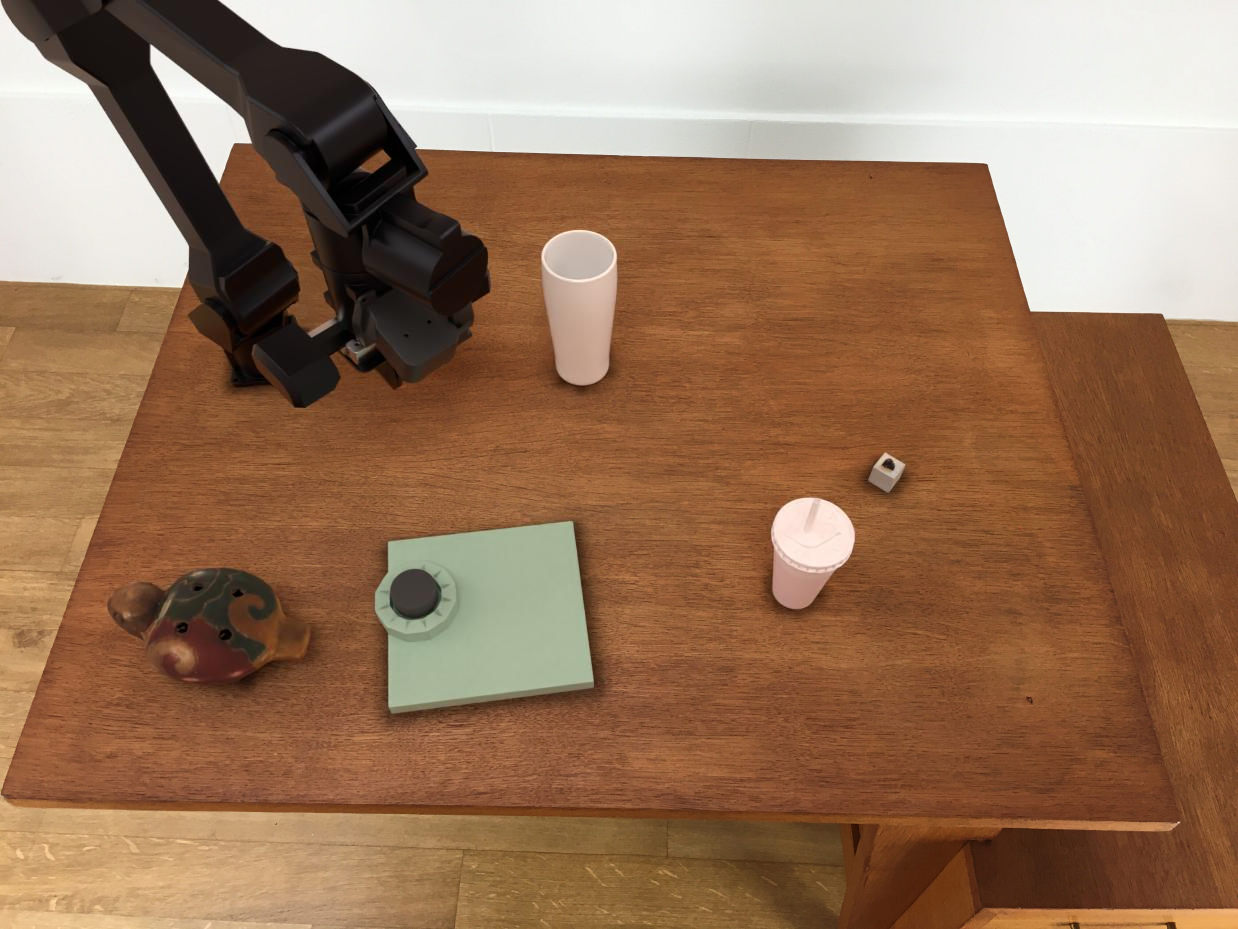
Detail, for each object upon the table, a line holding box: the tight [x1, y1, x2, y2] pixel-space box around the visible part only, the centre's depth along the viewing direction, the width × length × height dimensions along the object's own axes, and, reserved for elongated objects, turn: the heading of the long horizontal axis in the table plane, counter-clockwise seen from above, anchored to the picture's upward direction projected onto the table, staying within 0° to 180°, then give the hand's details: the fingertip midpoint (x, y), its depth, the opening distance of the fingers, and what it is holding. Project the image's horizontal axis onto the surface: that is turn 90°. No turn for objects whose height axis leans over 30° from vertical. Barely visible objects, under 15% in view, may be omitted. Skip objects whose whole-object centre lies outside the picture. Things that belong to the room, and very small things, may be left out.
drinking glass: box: [540, 229, 619, 387], centre depth 90 cm, size 7×7×15 cm
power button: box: [390, 569, 438, 618], centre depth 78 cm, size 4×4×2 cm
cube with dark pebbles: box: [867, 451, 906, 494], centre depth 88 cm, size 2×2×2 cm
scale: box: [374, 520, 595, 715], centre depth 79 cm, size 17×15×3 cm
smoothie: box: [770, 497, 856, 610], centre depth 77 cm, size 6×6×14 cm
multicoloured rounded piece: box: [106, 567, 312, 685], centre depth 76 cm, size 10×15×8 cm, turn 88°
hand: (394, 385), depth 82 cm, fingers closed
